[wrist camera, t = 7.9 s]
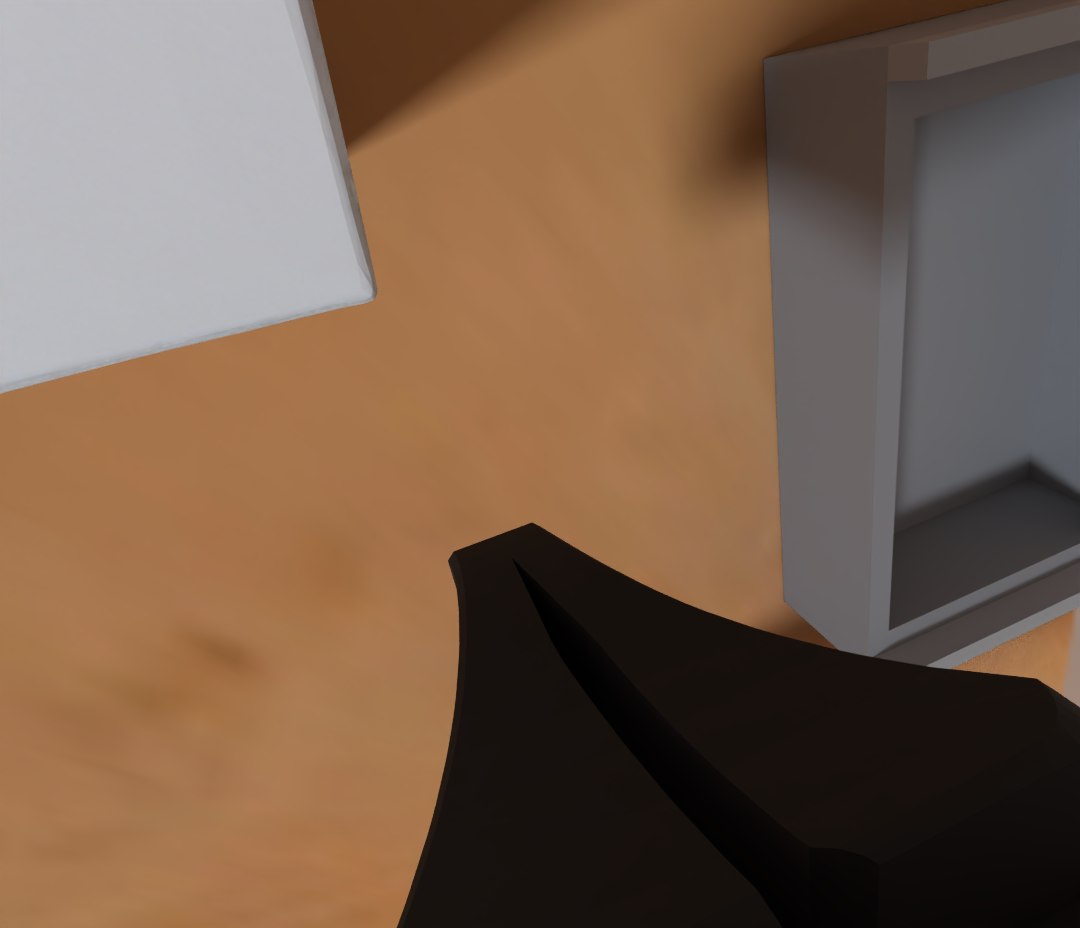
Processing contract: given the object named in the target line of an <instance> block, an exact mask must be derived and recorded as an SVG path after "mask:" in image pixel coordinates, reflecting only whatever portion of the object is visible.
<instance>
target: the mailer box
mask: <svg viewBox="0 0 1080 928" xmlns="http://www.w3.org/2000/svg"><path fill="white" fill-rule="evenodd" d="M763 62H764V88H765V114H766V140H767V167H768V193H769V219H770V246H771V272H772V298H773V324H774V351H775V377H776V403H777V429H778V456H779V482H780V508H781V534H782V561H783V587H784V602H786V603H787V604H788V605H789V606H790V607H791V608H792V609H793V610H795V611H796V612H797V613H798V614H799V615H800V616H801V617H802V618H804V619H805V620H806V621H807V622H808V623H809V624H810V625H811V626H812V627H814V628H815V629H816V630H817V631H818V632H819V633H820V634H821V635H823V636H824V637H825V638H826V639H827V640H828V641H829V642H830V643H832V644H833V645H834V646H835V647H836V648H837V649H838V650H841V651H845V652H850V653H855V654H860V655H865V656H870V657H875V658H881V659H887V660H893V661H899V662H904V663H910V664H916V665H922V666H929V667H935V668H944V669H952V668H954V667H956V666H958V665H960V664H962V663H964V662H966V661H968V660H970V659H972V658H974V657H976V656H978V655H981V654H983V653H985V652H987V651H989V650H991V649H993V648H995V647H997V646H999V645H1001V644H1003V643H1005V642H1007V641H1010V640H1012V639H1014V638H1016V637H1018V636H1020V635H1022V634H1024V633H1026V632H1028V631H1030V630H1032V629H1034V628H1037V627H1039V626H1041V625H1043V624H1045V623H1047V622H1049V621H1051V620H1053V619H1055V618H1057V617H1059V616H1061V615H1063V614H1066V613H1068V612H1070V611H1072V610H1074V609H1076V608H1078V607H1080V0H1007V1H1003V2H999V3H995V4H990V5H986V6H982V7H978V8H974V9H969V10H965V11H961V12H957V13H953V14H948V15H944V16H940V17H936V18H932V19H928V20H923V21H919V22H915V23H911V24H907V25H902V26H898V27H894V28H890V29H886V30H881V31H877V32H873V33H869V34H865V35H860V36H856V37H852V38H848V39H844V40H839V41H835V42H831V43H827V44H823V45H819V46H814V47H810V48H806V49H802V50H798V51H793V52H789V53H785V54H781V55H777V56H772V57H768V58H764V59H763Z"/></svg>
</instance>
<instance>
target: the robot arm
mask: <svg viewBox="0 0 1080 928" xmlns="http://www.w3.org/2000/svg"><path fill="white" fill-rule="evenodd" d="M448 562H449V566H450V569H451V572H452V575H453V579H454V582H455V585H456V588H457V595H458V606H459V642H460V644H459V664H458V678H457V691H456V701H455V709H454V717H453V723H452V730H451V736H450V741H449V747H448V753H447V758H446V763H445V767H444V772H443V776H442V780H441V785H440V789H439V794H438V798H437V802H436V806H435V810H434V814H433V818H432V821H431V825H430V829H429V832H428V836H427V839H426V842H425V845H424V848H423V851H422V854H421V857H420V861H419V864H418V867H417V870H416V873H415V876H414V879H413V882H412V885H411V889H410V892H409V895H408V898H407V901H406V904H405V907H404V909H403V912H402V915H401V918H400V921H399V923H398V926H397V928H1080V707H1078V706H1077V705H1076V704H1074V703H1073V702H1071V701H1069V700H1068V699H1067V698H1065V697H1064V696H1062V695H1061V694H1059V693H1058V692H1056V691H1055V690H1054V689H1052V688H1050V687H1049V686H1047V685H1045V684H1044V683H1042V682H1041V681H1039V680H1038V679H1035V678H1026V677H1017V676H1008V675H999V674H990V673H981V672H972V671H963V670H953V669H944V668H935V667H929V666H922V665H916V664H910V663H904V662H899V661H893V660H887V659H881V658H875V657H870V656H865V655H860V654H855V653H850V652H845V651H841V650H836V649H831V648H827V647H823V646H819V645H815V644H811V643H807V642H803V641H799V640H795V639H792V638H788V637H784V636H780V635H776V634H773V633H769V632H766V631H763V630H759V629H756V628H753V627H750V626H747V625H744V624H741V623H738V622H735V621H732V620H729V619H726V618H723V617H720V616H717V615H715V614H712V613H709V612H706V611H703V610H701V609H698V608H696V607H693V606H691V605H688V604H686V603H683V602H681V601H679V600H676V599H674V598H672V597H670V596H667V595H665V594H663V593H660V592H658V591H656V590H654V589H652V588H650V587H648V586H646V585H644V584H641V583H639V582H637V581H635V580H634V579H632V578H630V577H628V576H626V575H624V574H622V573H620V572H618V571H616V570H614V569H612V568H610V567H609V566H607V565H605V564H603V563H601V562H599V561H598V560H596V559H594V558H592V557H590V556H589V555H587V554H585V553H583V552H582V551H580V550H578V549H577V548H575V547H573V546H571V545H570V544H568V543H566V542H565V541H563V540H561V539H560V538H558V537H556V536H555V535H553V534H552V533H550V532H548V531H547V530H545V529H543V528H542V527H540V526H538V525H536V524H534V523H530V524H527V525H524V526H521V527H519V528H516V529H513V530H511V531H508V532H505V533H503V534H500V535H497V536H494V537H492V538H489V539H486V540H484V541H481V542H478V543H476V544H473V545H470V546H467V547H465V548H462V549H459V550H457V551H454V552H453V554H452V555H451V557H450V558H449V560H448Z"/></svg>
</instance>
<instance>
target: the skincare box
mask: <svg viewBox="0 0 1080 928" xmlns="http://www.w3.org/2000/svg"><path fill="white" fill-rule="evenodd" d="M376 295H377V285H376V280H375V276H374V271H373V266H372V262H371V257H370V253H369V248H368V244H367V239H366V235H365V230H364V226H363V221H362V216H361V212H360V207H359V203H358V198H357V194H356V189H355V185H354V180H353V176H352V171H351V167H350V162H349V158H348V153H347V149H346V145H345V140H344V136H343V131H342V127H341V123H340V118H339V114H338V110H337V105H336V101H335V96H334V92H333V88H332V83H331V79H330V74H329V70H328V66H327V61H326V57H325V53H324V48H323V44H322V40H321V35H320V31H319V27H318V22H317V18H316V14H315V10H314V5H313V1H312V0H0V394H1V393H4V392H8V391H12V390H16V389H19V388H23V387H27V386H31V385H35V384H38V383H42V382H46V381H50V380H54V379H57V378H61V377H65V376H69V375H73V374H77V373H80V372H84V371H88V370H92V369H96V368H99V367H103V366H107V365H111V364H115V363H119V362H122V361H126V360H130V359H134V358H138V357H142V356H146V355H151V354H155V353H159V352H163V351H167V350H171V349H175V348H179V347H183V346H187V345H192V344H196V343H200V342H204V341H208V340H213V339H217V338H221V337H225V336H229V335H233V334H238V333H242V332H246V331H250V330H254V329H258V328H262V327H266V326H270V325H274V324H278V323H282V322H286V321H290V320H294V319H298V318H302V317H306V316H310V315H315V314H319V313H323V312H327V311H331V310H335V309H340V308H344V307H349V306H354V305H359V304H364V303H367V302H371V301H372V300H374V299H375V297H376Z"/></svg>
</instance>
